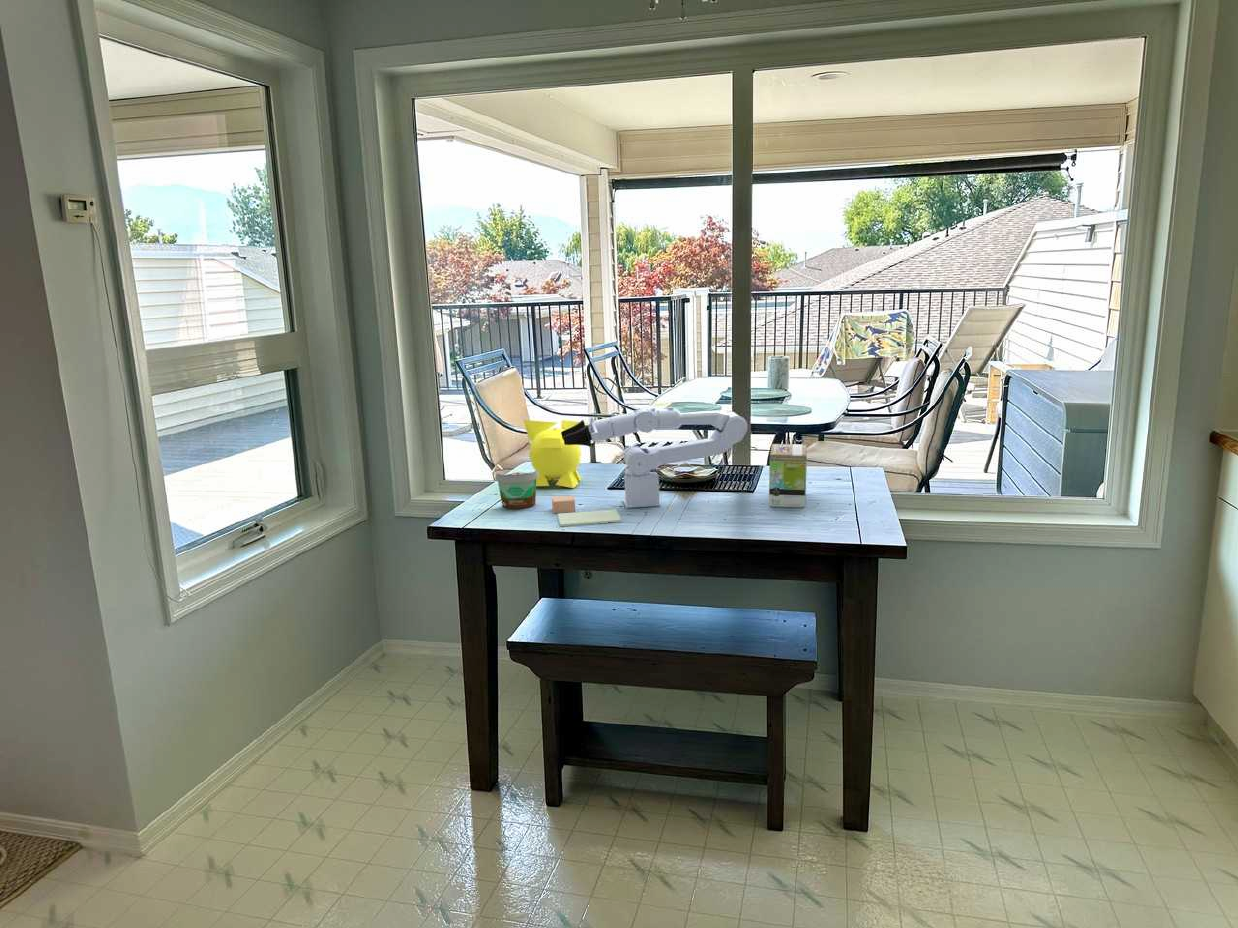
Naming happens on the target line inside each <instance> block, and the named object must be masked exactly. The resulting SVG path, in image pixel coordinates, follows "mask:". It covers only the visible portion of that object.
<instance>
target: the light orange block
mask: <svg viewBox="0 0 1238 928" xmlns="http://www.w3.org/2000/svg"><path fill="white" fill-rule="evenodd" d="M551 502H552V505H551V507H552V512H553V513H552V514H561V513H566V512H567V513H574V512H576V501H575V497H574V496H573V495H570V496H569V495H568V496H559V497H558V496H556V497H555V496H554V497H551Z"/></svg>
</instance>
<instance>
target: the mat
mask: <svg viewBox="0 0 1238 928" xmlns="http://www.w3.org/2000/svg"><path fill="white" fill-rule="evenodd" d="M557 519H558V523H559V527H561V528H562V527H573V526H587V525H598V523H601V524H609V523H608V522H615V523H622V518H621V516H620V514H619V513H618V510H617V509H606V510H605V509H604V510H602V509H601V510H590V511H589V510H588V511H578V512H576V511H575V512H567V513H557Z"/></svg>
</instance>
